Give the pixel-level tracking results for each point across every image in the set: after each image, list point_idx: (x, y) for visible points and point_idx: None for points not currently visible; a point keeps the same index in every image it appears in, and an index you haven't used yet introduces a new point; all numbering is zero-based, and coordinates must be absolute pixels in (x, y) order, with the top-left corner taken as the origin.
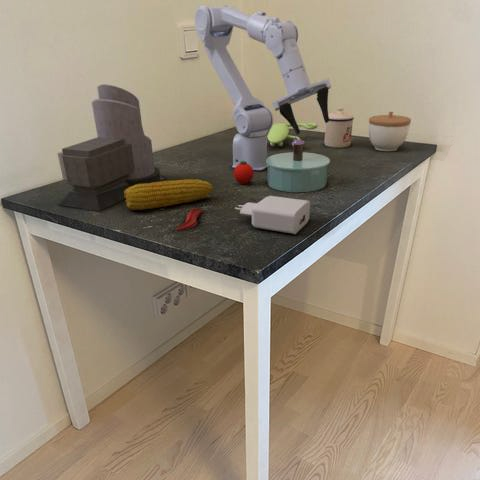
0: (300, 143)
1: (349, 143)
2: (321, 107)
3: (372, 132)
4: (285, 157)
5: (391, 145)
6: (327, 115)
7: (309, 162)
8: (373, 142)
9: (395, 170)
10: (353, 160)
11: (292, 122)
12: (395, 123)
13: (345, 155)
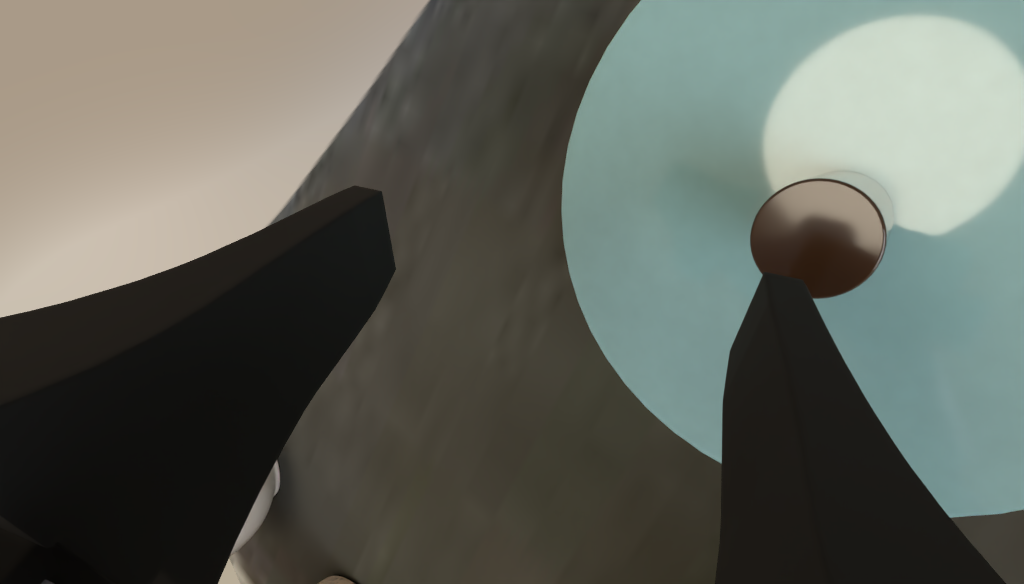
0: (788, 230)
1: (322, 581)
2: (274, 389)
3: None
4: (907, 363)
5: None
6: (319, 203)
7: (780, 79)
8: (263, 486)
9: (311, 194)
10: (382, 413)
11: (866, 400)
12: None
13: (381, 493)
